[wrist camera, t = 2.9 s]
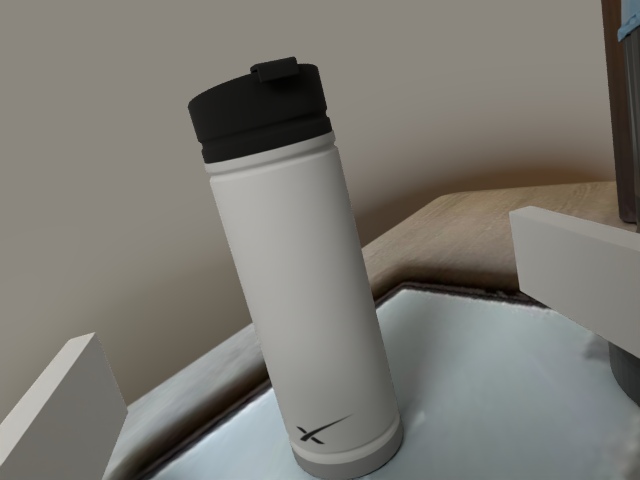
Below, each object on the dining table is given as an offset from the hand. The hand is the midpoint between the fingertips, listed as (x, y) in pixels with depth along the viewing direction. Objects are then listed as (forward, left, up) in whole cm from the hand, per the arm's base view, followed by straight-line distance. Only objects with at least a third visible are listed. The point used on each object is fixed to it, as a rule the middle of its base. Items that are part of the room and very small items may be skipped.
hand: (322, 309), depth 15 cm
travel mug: (-4, -8, -12) cm, 15 cm away
